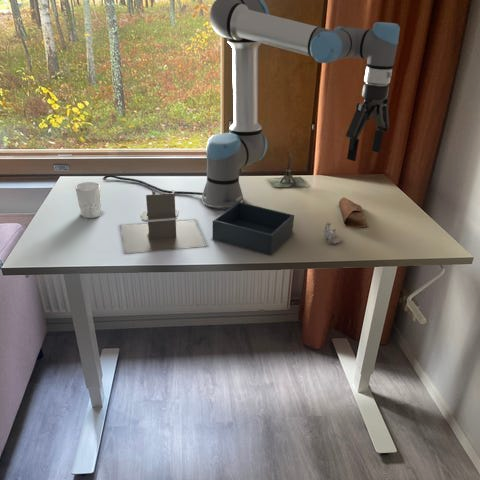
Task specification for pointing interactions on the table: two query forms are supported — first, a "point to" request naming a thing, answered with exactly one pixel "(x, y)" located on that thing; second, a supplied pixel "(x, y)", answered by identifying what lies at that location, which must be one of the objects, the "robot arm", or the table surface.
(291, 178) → the eiffel tower figurine
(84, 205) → the white cup
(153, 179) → the table surface
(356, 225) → the sunglasses case
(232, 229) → the tote
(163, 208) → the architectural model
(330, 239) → the soldier figure
